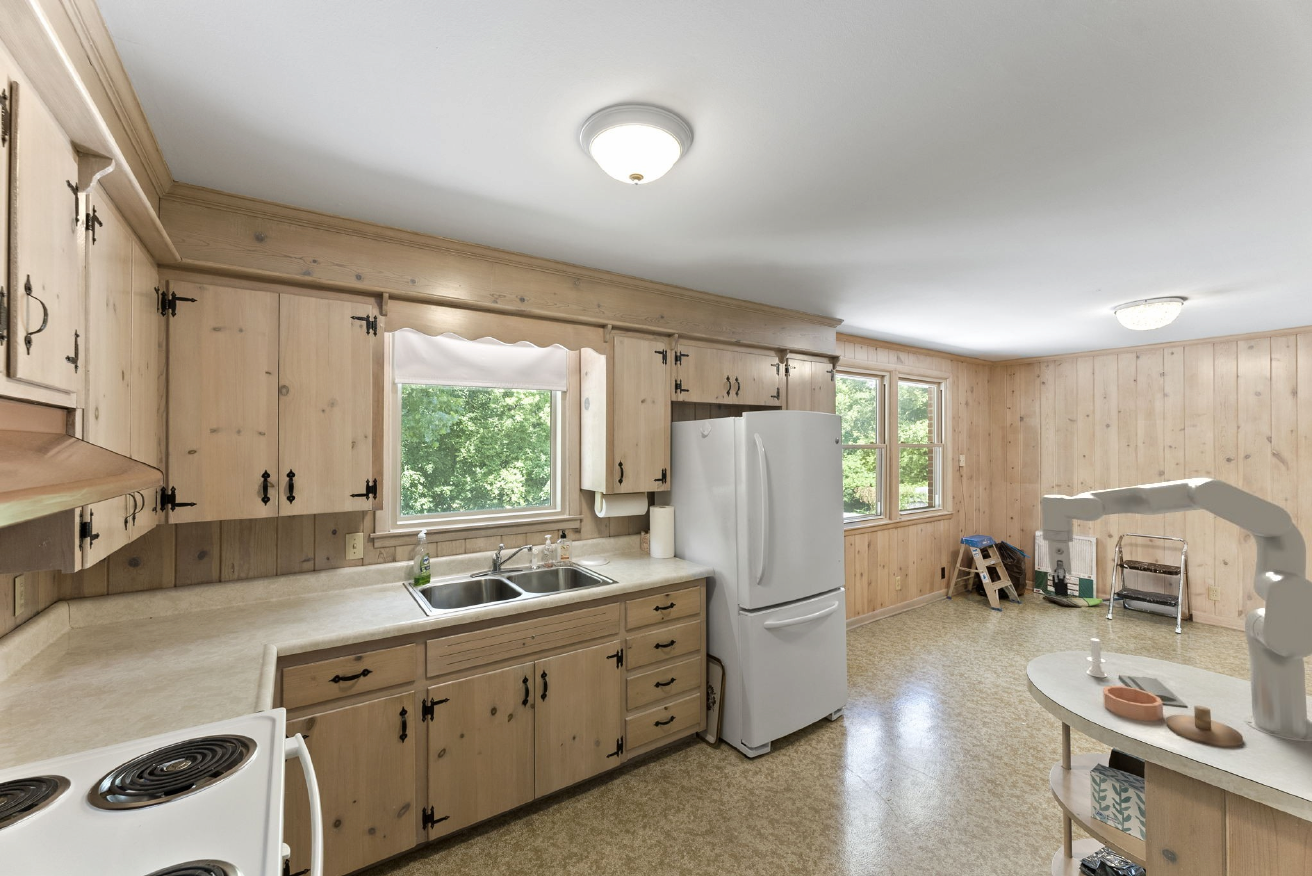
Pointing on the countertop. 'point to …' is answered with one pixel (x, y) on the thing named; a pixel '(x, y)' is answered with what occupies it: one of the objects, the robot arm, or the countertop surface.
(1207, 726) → the lid
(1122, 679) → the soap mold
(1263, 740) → the countertop surface
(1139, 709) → the bowl
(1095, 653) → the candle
